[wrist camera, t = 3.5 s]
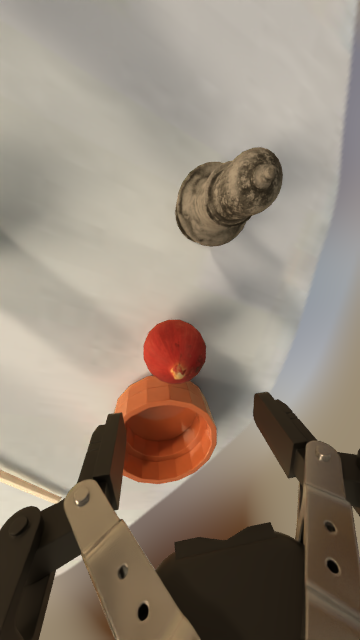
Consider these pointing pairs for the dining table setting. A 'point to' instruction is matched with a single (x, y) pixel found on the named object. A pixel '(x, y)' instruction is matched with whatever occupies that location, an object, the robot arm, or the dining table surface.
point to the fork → (28, 487)
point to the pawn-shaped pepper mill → (227, 196)
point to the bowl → (165, 430)
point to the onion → (174, 351)
